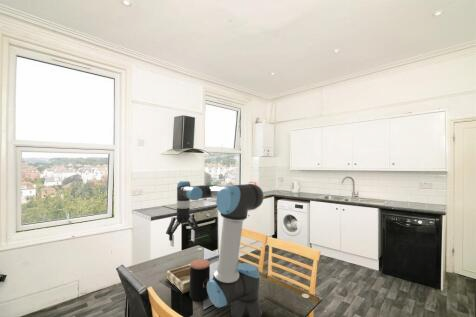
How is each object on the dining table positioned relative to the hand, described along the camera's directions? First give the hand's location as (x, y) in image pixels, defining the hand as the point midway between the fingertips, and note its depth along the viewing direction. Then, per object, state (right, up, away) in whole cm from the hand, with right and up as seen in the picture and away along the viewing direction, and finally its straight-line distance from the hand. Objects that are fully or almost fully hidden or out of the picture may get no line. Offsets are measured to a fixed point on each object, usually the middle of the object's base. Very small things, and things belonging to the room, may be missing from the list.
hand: (182, 243), depth 139 cm
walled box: (+1, -25, +5) cm, 25 cm away
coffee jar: (+11, -25, -10) cm, 30 cm away
